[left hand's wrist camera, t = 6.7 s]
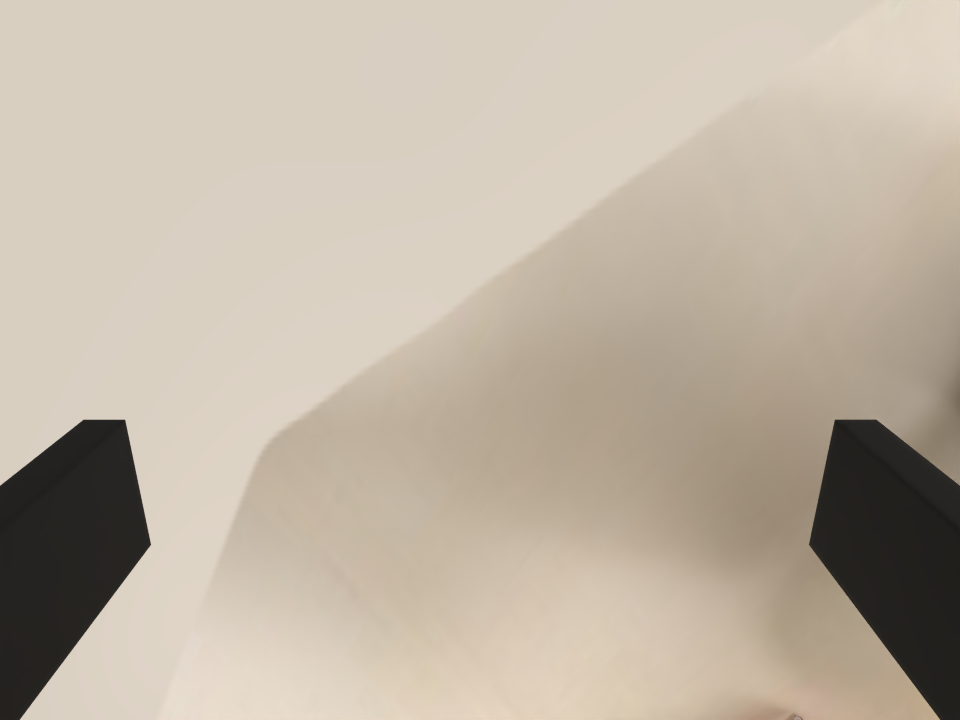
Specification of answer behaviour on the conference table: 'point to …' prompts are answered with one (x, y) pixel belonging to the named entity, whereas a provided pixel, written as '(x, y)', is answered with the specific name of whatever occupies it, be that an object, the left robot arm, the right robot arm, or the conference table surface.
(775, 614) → the conference table surface
